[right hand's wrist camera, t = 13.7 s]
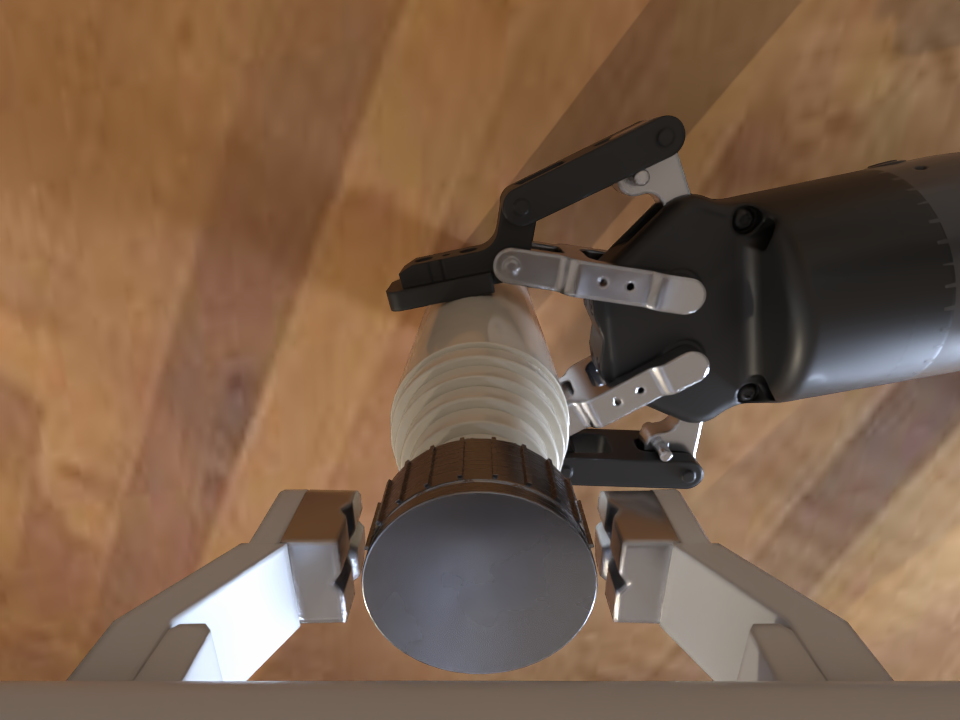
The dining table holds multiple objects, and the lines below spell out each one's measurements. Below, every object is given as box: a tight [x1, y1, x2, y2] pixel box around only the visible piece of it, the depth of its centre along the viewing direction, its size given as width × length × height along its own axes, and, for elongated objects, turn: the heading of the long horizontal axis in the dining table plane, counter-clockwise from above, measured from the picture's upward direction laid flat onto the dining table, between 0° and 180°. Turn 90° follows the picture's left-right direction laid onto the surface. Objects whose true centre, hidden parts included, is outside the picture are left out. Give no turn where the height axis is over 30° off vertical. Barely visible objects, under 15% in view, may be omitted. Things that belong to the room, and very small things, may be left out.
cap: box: [362, 437, 597, 674], centre depth 10 cm, size 4×4×2 cm
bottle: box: [390, 283, 569, 472], centre depth 18 cm, size 5×5×18 cm
